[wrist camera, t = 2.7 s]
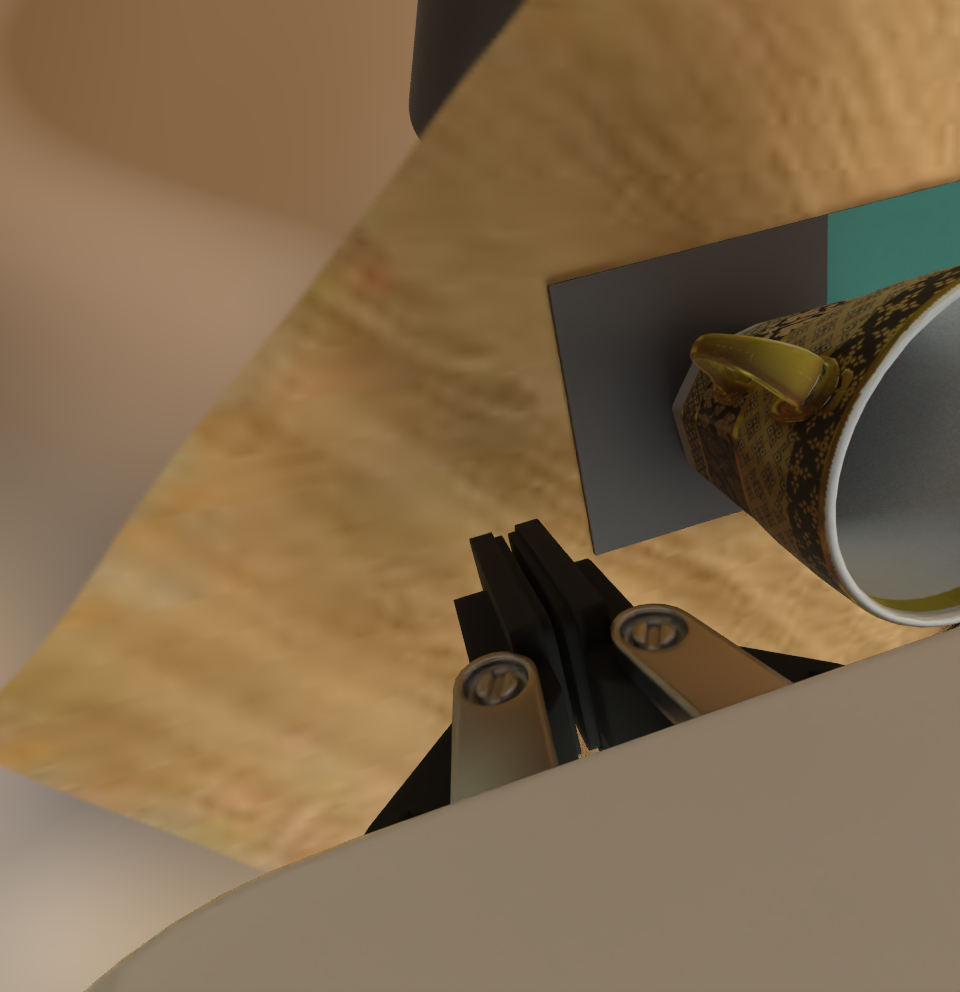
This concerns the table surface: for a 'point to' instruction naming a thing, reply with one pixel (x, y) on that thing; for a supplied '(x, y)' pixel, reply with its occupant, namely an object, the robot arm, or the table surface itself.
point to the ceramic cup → (844, 440)
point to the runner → (702, 310)
